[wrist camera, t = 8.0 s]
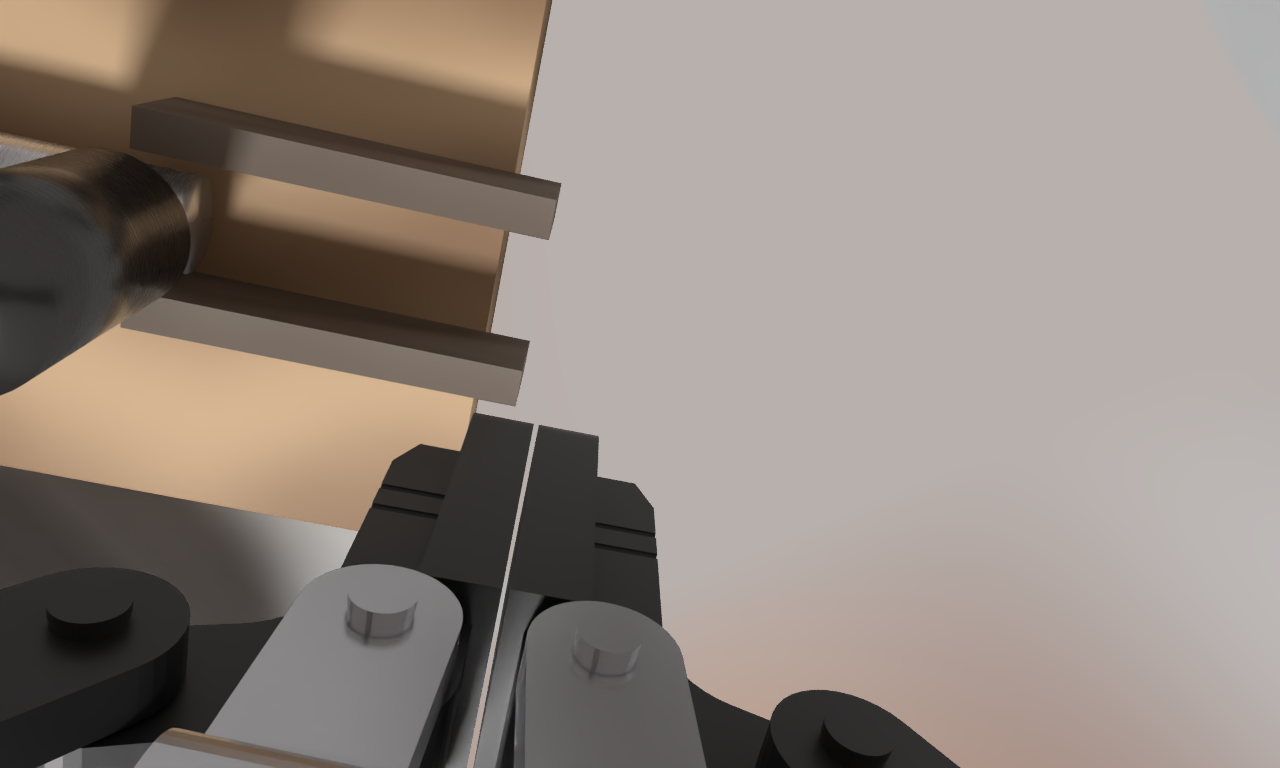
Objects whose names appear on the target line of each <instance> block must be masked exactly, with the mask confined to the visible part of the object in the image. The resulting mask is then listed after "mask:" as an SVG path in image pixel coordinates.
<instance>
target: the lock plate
mask: <svg viewBox="0 0 1280 768" xmlns="http://www.w3.org/2000/svg"><path fill="white" fill-rule="evenodd" d="M551 4H552V0H0V131H1V132H5V133H10V134H15V135H19V136H24V137H28V138H33V139H38V140H42V141H47V142H51V143H56V144H61V145H65V146H70V147H74V148H85V147H101V148H107V149H113V150H116V151H120V152H123V153H126V154H128V155H130V156H133V157H135V158H137V159H138V160H140V161H142V162H144V163H148V164H152V165H157V166H162V167H166V168H171V169H175V170H180V171H185V172H189V173H194V174H198V175H203V176H205V177H206V178H207V179H208V180H209V182H210V184H211V187H212V191H213V199H214V213H213V223H212V229H211V234H210V238H209V242H208V245H207V248H206V251H205V253H204V256H203V258H202V260H201V262H200V263H199V265H198V266H197V268H196V269H195V270H194V271H193V272H191V273H189V274H182V276H181V278H180V279H179V281H178V282H177V283H176V284H175V285H174V287H173V288H172V289H171V290H170V291H168V292H167V293H166V294H165V295H163V296H162V297H160V298H159V299H157V300H156V301H154V302H152V303H151V304H149V305H148V306H146V307H145V308H143V309H141V310H140V311H138V312H137V313H135V314H134V315H132V316H130V317H129V318H127V319H126V320H124V321H123V322H121V323H119V324H118V325H116V326H115V327H113V328H112V329H110V330H108V331H107V332H105V333H104V334H102V335H101V336H99V337H97V338H96V339H94V340H93V341H91V342H90V343H88V344H86V345H85V346H83V347H82V348H80V349H78V350H77V351H75V352H74V353H72V354H71V355H69V356H67V357H66V358H64V359H63V360H61V361H60V362H58V363H56V364H55V365H53V366H52V367H50V368H49V369H47V370H45V371H44V372H42V373H41V374H39V375H38V376H36V377H34V378H33V379H31V380H30V381H28V382H27V383H25V384H23V385H22V386H20V387H18V388H17V389H15V390H13V391H11V392H8V393H6V394H3V395H1V396H0V465H1V466H7V467H12V468H18V469H23V470H29V471H34V472H39V473H45V474H50V475H56V476H61V477H67V478H72V479H77V480H83V481H88V482H94V483H99V484H105V485H110V486H116V487H121V488H126V489H132V490H137V491H143V492H148V493H154V494H159V495H164V496H170V497H175V498H181V499H186V500H192V501H197V502H202V503H208V504H213V505H219V506H224V507H230V508H235V509H241V510H246V511H251V512H257V513H262V514H268V515H273V516H279V517H284V518H289V519H295V520H300V521H306V522H311V523H317V524H322V525H328V526H333V527H338V528H344V529H349V530H355V531H359V529H360V527H361V525H362V523H363V521H364V519H365V517H366V515H367V513H368V511H369V508H371V506H372V502H373V500H374V498H375V496H376V494H377V492H378V490H379V488H381V483H382V481H383V479H384V477H385V475H386V473H387V471H388V469H389V467H390V465H391V462H392V460H394V459H395V458H397V457H399V456H401V455H402V454H404V453H406V452H407V451H409V450H411V449H412V448H414V447H416V446H417V445H419V444H424V445H429V446H435V447H440V448H445V449H451V450H456V451H460V450H461V447H462V444H463V441H464V439H465V436H466V433H467V430H468V427H469V424H470V421H471V418H472V415H473V413H476V408H477V403H478V399H480V400H486V401H490V402H495V403H500V404H506V405H510V406H515V405H516V401H517V397H518V393H519V389H520V385H521V381H522V376H523V372H524V367H525V362H526V357H527V352H528V347H529V342H530V341H527V340H522V339H517V338H513V337H508V336H503V335H498V334H493V333H491V327H492V322H493V317H494V311H495V305H496V300H497V295H498V290H499V284H500V279H501V274H502V268H503V263H504V257H505V252H506V246H507V241H508V236H509V232H514V233H518V234H523V235H528V236H532V237H537V238H541V239H546V240H549V237H550V233H551V229H552V225H553V222H554V217H555V212H556V207H557V202H558V197H559V192H560V187H561V183H557V182H552V181H548V180H544V179H539V178H535V177H530V176H526V175H521V174H520V171H521V166H522V160H523V155H524V150H525V144H526V139H527V133H528V128H529V122H530V117H531V112H532V106H533V101H534V96H535V90H536V85H537V80H538V74H539V69H540V63H541V58H542V53H543V47H544V42H545V36H546V31H547V25H548V20H549V15H550V9H551Z"/></svg>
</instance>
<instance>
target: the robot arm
mask: <svg viewBox="0 0 1280 768" xmlns="http://www.w3.org/2000/svg"><path fill="white" fill-rule="evenodd" d="M533 425H534V424H531V423H525V422H521V421H515V420H510V419H505V418H500V417H494V416H489V415H484V414H478V413H473V415H472V418H471V421H470V424H469V427H468V430H467V433H466V436H465V439H464V441H463V444H462V447H461V450H460V451H456V450H451V449H445V448H440V447H435V446H429V445H424V444H419V445H417V446H416V447H414V448H412V449H411V450H409V451H407V452H406V453H404V454H402V455H401V456H399V457H397V458H395V459H394V460H392V462H391V465H390V467H389V469H388V471H387V473H386V475H385V477H384V479H383V481H382V483H381V488H379V490H378V492H377V494H376V496H375V498H374V500H373V502H372V506H371V508H369V511H368V513H367V515H366V517H365V519H364V521H363V523H362V525H361V527H360V529H359V531H358V533H357V536H356V538H355V540H354V542H353V544H352V546H351V548H350V550H349V552H348V554H347V556H346V559H345V561H344V563H343V565H342V567H341V568H339V569H336V570H333V571H330V572H327V573H325V574H323V575H321V576H319V577H317V578H316V579H314V580H313V581H312V582H310V583H309V584H308V585H306V587H305V588H304V589H303V590H302V591H301V592H300V594H299V595H298V597H297V598H296V600H295V601H294V603H293V604H292V606H291V607H290V609H289V610H288V612H287V613H286V615H285V616H283V617H280V618H276V619H272V620H266V621H261V622H254V623H242V624H220V625H195V626H189V625H190V609H189V604H188V602H187V601H186V599H185V597H184V596H183V594H182V593H181V592H180V591H179V590H178V589H177V588H176V587H174V586H173V585H171V584H170V583H168V582H167V581H165V580H162V579H160V578H158V577H156V576H153V575H150V574H147V573H144V572H139V571H134V570H129V569H120V568H85V569H76V570H70V571H64V572H59V573H55V574H52V575H48V576H44V577H41V578H37V579H34V580H31V581H28V582H24V583H21V584H18V585H14V586H11V587H8V588H5V589H1V590H0V768H467V763H468V758H469V753H470V748H471V743H472V738H473V733H474V728H475V723H476V717H477V712H478V707H479V702H480V697H481V692H482V687H483V682H484V677H485V672H486V667H487V662H488V657H489V652H490V647H491V642H492V637H493V632H494V627H495V622H496V617H497V612H498V607H499V602H500V597H501V592H502V587H503V582H504V576H505V571H506V566H507V561H508V556H509V550H510V545H511V540H512V534H513V529H514V524H515V519H516V513H517V509H518V503H519V497H520V493H521V488H522V482H523V477H524V472H525V467H526V462H527V456H528V451H529V446H530V441H531V435H532V430H533ZM598 442H599V437H598V436H595V435H590V434H584V433H579V432H574V431H569V430H563V429H558V428H553V427H547V426H542V425H539V428H538V433H537V437H536V442H535V447H534V452H533V457H532V462H531V467H530V472H529V478H528V482H527V487H526V492H525V497H524V502H523V508H522V512H521V517H520V522H519V527H518V532H517V537H516V542H515V547H514V552H513V557H512V562H511V567H510V572H509V578H508V583H507V588H506V594H505V599H504V604H503V610H502V615H501V621H500V626H499V632H498V637H497V642H496V648H495V653H494V659H493V664H492V670H491V675H490V680H489V686H488V692H487V697H486V702H485V708H484V713H483V718H482V724H481V729H480V736H479V740H478V746H477V751H476V757H475V762H474V768H960V767H959V766H957V765H956V764H955V763H953V762H952V761H951V760H950V759H949V758H947V757H946V756H945V755H944V754H942V753H941V752H940V751H938V750H937V749H936V748H935V747H934V746H932V745H931V744H930V743H928V742H927V741H926V740H925V739H923V738H922V737H921V736H920V735H918V734H917V733H916V732H915V731H913V730H912V729H911V728H910V727H908V726H907V725H906V724H905V723H903V722H902V721H901V720H899V719H898V718H897V717H895V716H894V715H892V714H891V713H889V712H888V711H886V710H884V709H882V708H881V707H879V706H877V705H874V704H872V703H871V702H868V701H866V700H864V699H861V698H858V697H855V696H853V695H849V694H845V693H840V692H836V691H828V690H809V691H802V692H798V693H795V694H792V695H790V696H788V697H786V698H785V699H783V700H782V701H781V702H780V703H779V704H778V705H777V706H776V708H775V710H774V711H773V713H772V716H771V719H770V720H767V719H765V718H762V717H760V716H757V715H755V714H752V713H749V712H747V711H745V710H742V709H740V708H737V707H735V706H732V705H730V704H728V703H725V702H723V701H721V700H719V699H717V698H715V697H713V696H711V695H710V694H708V693H706V692H705V691H703V690H702V689H700V688H699V687H698V686H696V685H695V684H693V683H692V682H691V681H690V680H689V679H688V678H687V674H686V669H685V665H684V661H683V656H682V653H681V651H680V648H679V646H678V645H677V643H676V642H675V640H674V639H673V638H672V637H671V636H670V634H669V633H668V632H667V631H666V630H665V629H664V628H662V617H661V616H662V615H661V603H660V588H659V574H658V561H657V559H656V556H657V547H656V538H655V520H654V508H653V507H652V505H651V504H650V503H649V502H648V500H647V499H646V498H645V496H644V495H643V494H642V492H641V491H640V490H639V489H638V487H637V486H636V485H635V484H634V483H628V482H623V481H617V480H612V479H607V478H601V477H597V469H598V468H597V467H598Z"/></svg>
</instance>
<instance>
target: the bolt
mask: <svg viewBox="0 0 1280 768" xmlns="http://www.w3.org/2000/svg"><path fill="white" fill-rule="evenodd" d="M213 213H214V199H213V191H212V187H211V184H210V182H209V180H208V179H207V178H206V177H205V176H203V175H198V174H194V173H189V172H185V171H180V170H175V169H171V168H166V167H162V166H157V165H152V164H148V163H144V162H142V161H140V160H138V159H137V158H135V157H133V156H130V155H128V154H126V153H123V152H120V151H116V150H113V149H107V148H101V147H85V148H74V147H70V146H65V145H61V144H56V143H51V142H47V141H42V140H38V139H33V138H28V137H24V136H19V135H15V134H10V133H5V132H1V131H0V396H1V395H3V394H6V393H8V392H11V391H13V390H15V389H17V388H18V387H20V386H22V385H23V384H25V383H27V382H28V381H30V380H31V379H33V378H34V377H36V376H38V375H39V374H41V373H42V372H44V371H45V370H47V369H49V368H50V367H52V366H53V365H55V364H56V363H58V362H60V361H61V360H63V359H64V358H66V357H67V356H69V355H71V354H72V353H74V352H75V351H77V350H78V349H80V348H82V347H83V346H85V345H86V344H88V343H90V342H91V341H93V340H94V339H96V338H97V337H99V336H101V335H102V334H104V333H105V332H107V331H108V330H110V329H112V328H113V327H115V326H116V325H118V324H119V323H121V322H123V321H124V320H126V319H127V318H129V317H130V316H132V315H134V314H135V313H137V312H138V311H140V310H141V309H143V308H145V307H146V306H148V305H149V304H151V303H152V302H154V301H156V300H157V299H159V298H160V297H162V296H163V295H165V294H166V293H167V292H168V291H170V290H171V289H172V288H173V287H174V285H175V284H176V283H177V282H178V281H179V279H180V278H181V276H182V274H189V273H191V272H193V271H194V270H195V269H196V268H197V266H198V265H199V263H200V262H201V260H202V258H203V256H204V253H205V251H206V248H207V245H208V242H209V238H210V234H211V229H212V223H213Z"/></svg>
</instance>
